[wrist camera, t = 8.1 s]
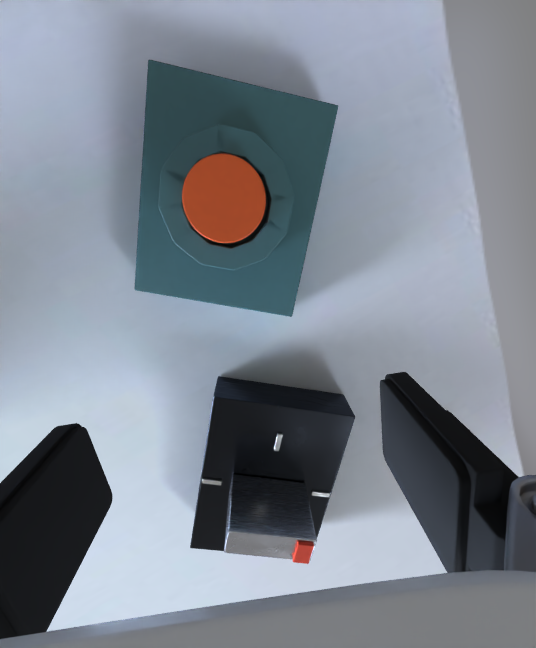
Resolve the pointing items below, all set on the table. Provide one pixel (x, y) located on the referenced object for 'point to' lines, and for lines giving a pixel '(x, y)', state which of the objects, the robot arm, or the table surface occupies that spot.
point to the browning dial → (269, 519)
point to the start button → (223, 198)
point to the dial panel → (269, 447)
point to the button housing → (255, 148)
